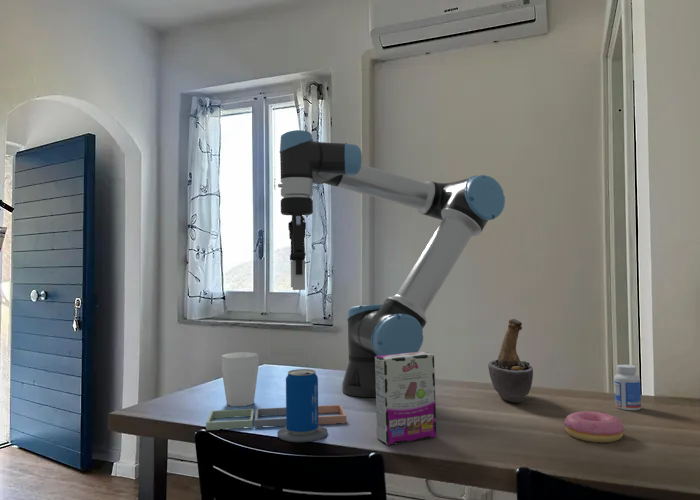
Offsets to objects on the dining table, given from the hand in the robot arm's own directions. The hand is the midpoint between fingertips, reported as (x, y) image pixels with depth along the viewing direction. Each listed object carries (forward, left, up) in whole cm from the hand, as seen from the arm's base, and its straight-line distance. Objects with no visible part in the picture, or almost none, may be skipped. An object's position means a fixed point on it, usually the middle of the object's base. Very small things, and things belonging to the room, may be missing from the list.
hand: (297, 288), depth 131 cm
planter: (-53, -3, -29) cm, 60 cm away
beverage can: (0, +17, -28) cm, 33 cm away
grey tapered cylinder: (+14, -11, -29) cm, 34 cm away
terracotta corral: (-5, +6, -29) cm, 30 cm away
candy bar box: (-20, +23, -29) cm, 42 cm away
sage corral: (+15, +6, -29) cm, 33 cm away
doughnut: (-57, +28, -29) cm, 70 cm away
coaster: (0, +17, -29) cm, 33 cm away
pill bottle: (-76, +10, -29) cm, 82 cm away
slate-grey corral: (+5, +6, -29) cm, 30 cm away
